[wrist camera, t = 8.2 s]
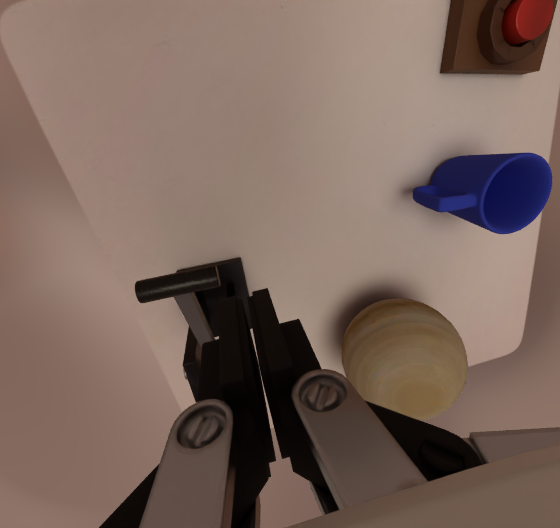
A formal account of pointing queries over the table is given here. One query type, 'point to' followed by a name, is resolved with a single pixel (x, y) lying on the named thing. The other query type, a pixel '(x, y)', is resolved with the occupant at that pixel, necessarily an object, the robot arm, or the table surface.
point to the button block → (487, 41)
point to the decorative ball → (405, 358)
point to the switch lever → (183, 295)
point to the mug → (490, 190)
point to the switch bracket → (214, 312)
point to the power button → (526, 20)
